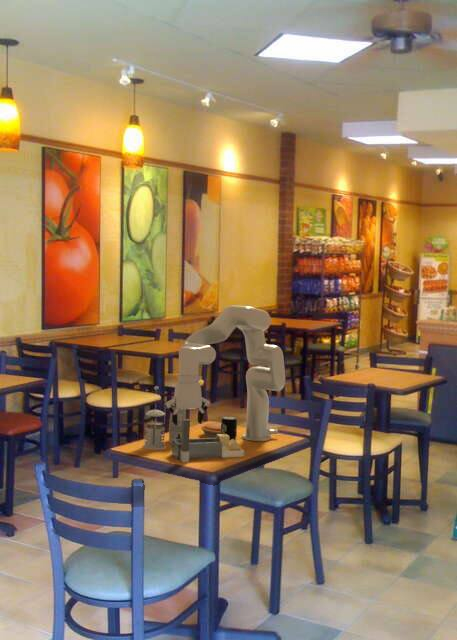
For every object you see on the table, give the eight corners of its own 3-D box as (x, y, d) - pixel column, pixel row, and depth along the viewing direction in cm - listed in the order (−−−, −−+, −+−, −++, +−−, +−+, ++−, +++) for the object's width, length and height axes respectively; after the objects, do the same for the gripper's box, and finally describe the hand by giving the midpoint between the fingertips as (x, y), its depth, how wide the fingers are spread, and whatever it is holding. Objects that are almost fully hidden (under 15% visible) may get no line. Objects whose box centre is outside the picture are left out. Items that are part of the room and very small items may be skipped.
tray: (234, 450, 314) (234, 444, 314) (244, 457, 304) (244, 450, 304) (213, 451, 311) (213, 445, 311) (222, 458, 301) (222, 451, 301)
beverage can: (234, 448, 318) (235, 419, 317) (218, 446, 319) (219, 418, 318) (237, 444, 324) (238, 416, 323) (222, 443, 326) (223, 415, 325)
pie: (201, 431, 348) (202, 420, 348) (235, 433, 348) (236, 422, 348) (199, 439, 333) (200, 427, 332) (235, 440, 332) (236, 429, 332)
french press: (167, 444, 320) (169, 384, 318) (165, 451, 308) (167, 389, 307) (143, 443, 320) (145, 383, 318) (140, 450, 308) (142, 388, 307)
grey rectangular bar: (186, 459, 296) (187, 418, 295) (188, 462, 293) (190, 420, 291) (180, 459, 296) (181, 418, 294) (182, 462, 292) (184, 420, 290)
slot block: (215, 452, 309) (215, 437, 309) (221, 457, 302) (222, 442, 301) (171, 454, 303) (172, 439, 303) (177, 459, 296) (177, 444, 295)
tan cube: (225, 443, 308) (226, 434, 307) (229, 446, 304) (229, 436, 304) (216, 444, 306) (216, 434, 306) (219, 446, 303) (219, 436, 302)
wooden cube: (224, 444, 308) (229, 452, 309) (227, 446, 304) (232, 454, 305) (232, 438, 309) (237, 446, 310) (236, 440, 305) (240, 448, 306)
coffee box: (170, 439, 330) (172, 401, 329) (185, 439, 330) (186, 402, 329) (168, 443, 321) (169, 405, 320) (183, 444, 321) (185, 406, 320)
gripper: (207, 376, 297) (206, 420, 299) (163, 378, 291) (162, 422, 293) (213, 380, 290) (212, 424, 292) (168, 381, 284) (168, 427, 286)
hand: (187, 423), depth 292 cm, fingers open, 9 cm apart
